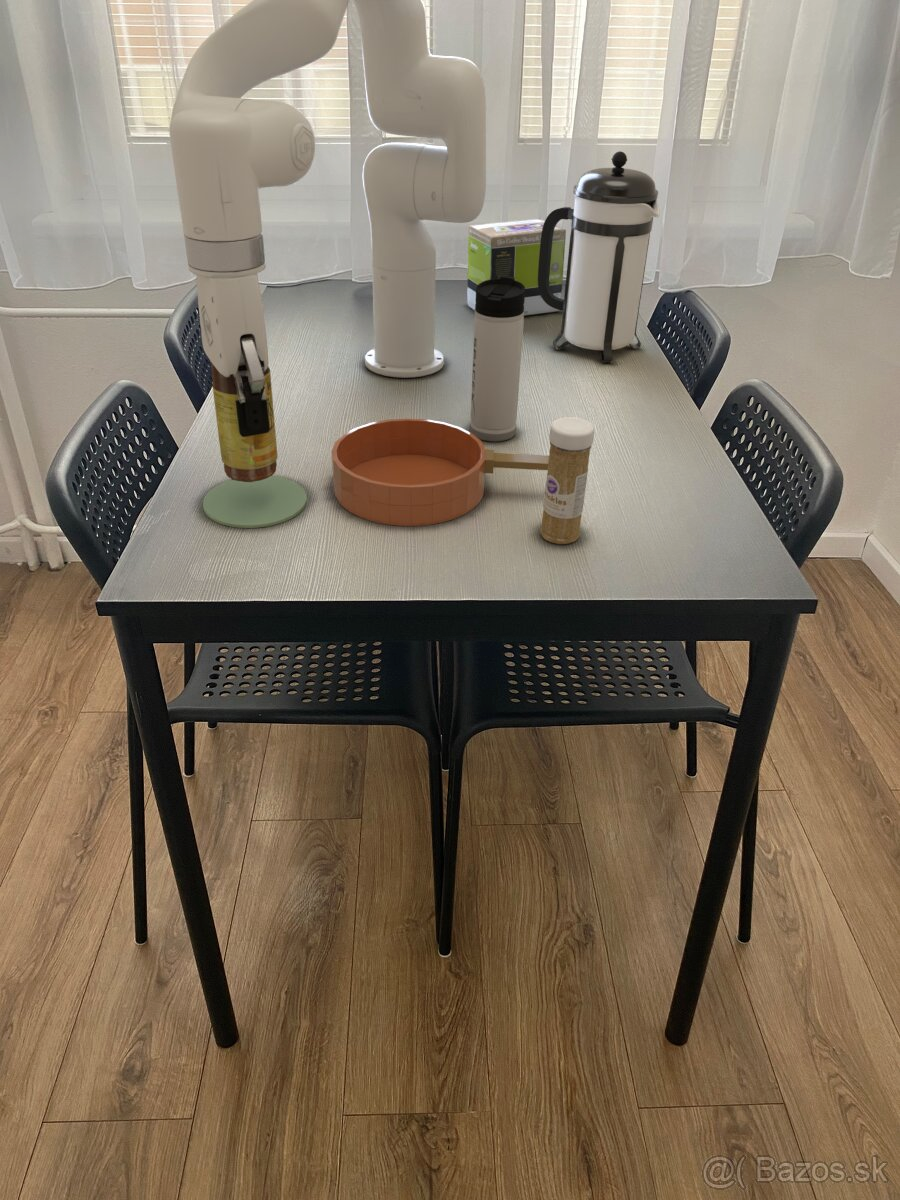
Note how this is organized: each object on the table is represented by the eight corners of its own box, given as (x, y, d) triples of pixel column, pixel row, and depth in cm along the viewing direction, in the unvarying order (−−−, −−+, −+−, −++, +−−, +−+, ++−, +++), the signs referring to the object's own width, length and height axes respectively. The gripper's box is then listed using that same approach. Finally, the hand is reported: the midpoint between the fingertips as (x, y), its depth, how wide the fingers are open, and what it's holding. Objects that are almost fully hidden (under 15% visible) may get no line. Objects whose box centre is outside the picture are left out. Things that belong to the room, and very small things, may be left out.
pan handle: (483, 473, 104) (483, 459, 103) (483, 462, 106) (484, 449, 105) (579, 478, 103) (581, 464, 102) (578, 467, 106) (580, 453, 104)
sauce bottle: (267, 488, 98) (247, 309, 86) (214, 481, 99) (188, 303, 87) (287, 462, 103) (272, 290, 92) (237, 455, 104) (215, 285, 92)
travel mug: (521, 426, 122) (532, 278, 111) (508, 445, 117) (518, 293, 106) (478, 419, 124) (485, 273, 112) (463, 437, 119) (469, 287, 107)
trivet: (192, 489, 105) (192, 486, 105) (289, 471, 110) (288, 468, 110) (217, 537, 97) (216, 534, 97) (321, 515, 101) (320, 512, 101)
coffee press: (630, 332, 156) (657, 143, 138) (649, 365, 143) (681, 161, 125) (532, 330, 155) (547, 141, 138) (543, 363, 142) (561, 158, 125)
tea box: (535, 297, 171) (541, 216, 162) (561, 313, 164) (569, 229, 155) (465, 305, 166) (467, 222, 157) (488, 322, 158) (492, 235, 150)
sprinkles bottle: (531, 535, 99) (542, 424, 91) (554, 520, 101) (566, 411, 94) (565, 550, 96) (579, 437, 88) (588, 534, 99) (603, 423, 91)
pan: (313, 469, 110) (310, 433, 107) (444, 444, 117) (444, 409, 114) (367, 539, 97) (366, 499, 94) (510, 506, 104) (513, 468, 101)
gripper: (169, 235, 92) (194, 398, 102) (209, 279, 79) (232, 459, 90) (239, 229, 95) (257, 388, 105) (289, 271, 82) (303, 447, 93)
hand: (245, 419), depth 97 cm, fingers closed on sauce bottle, 6 cm apart
